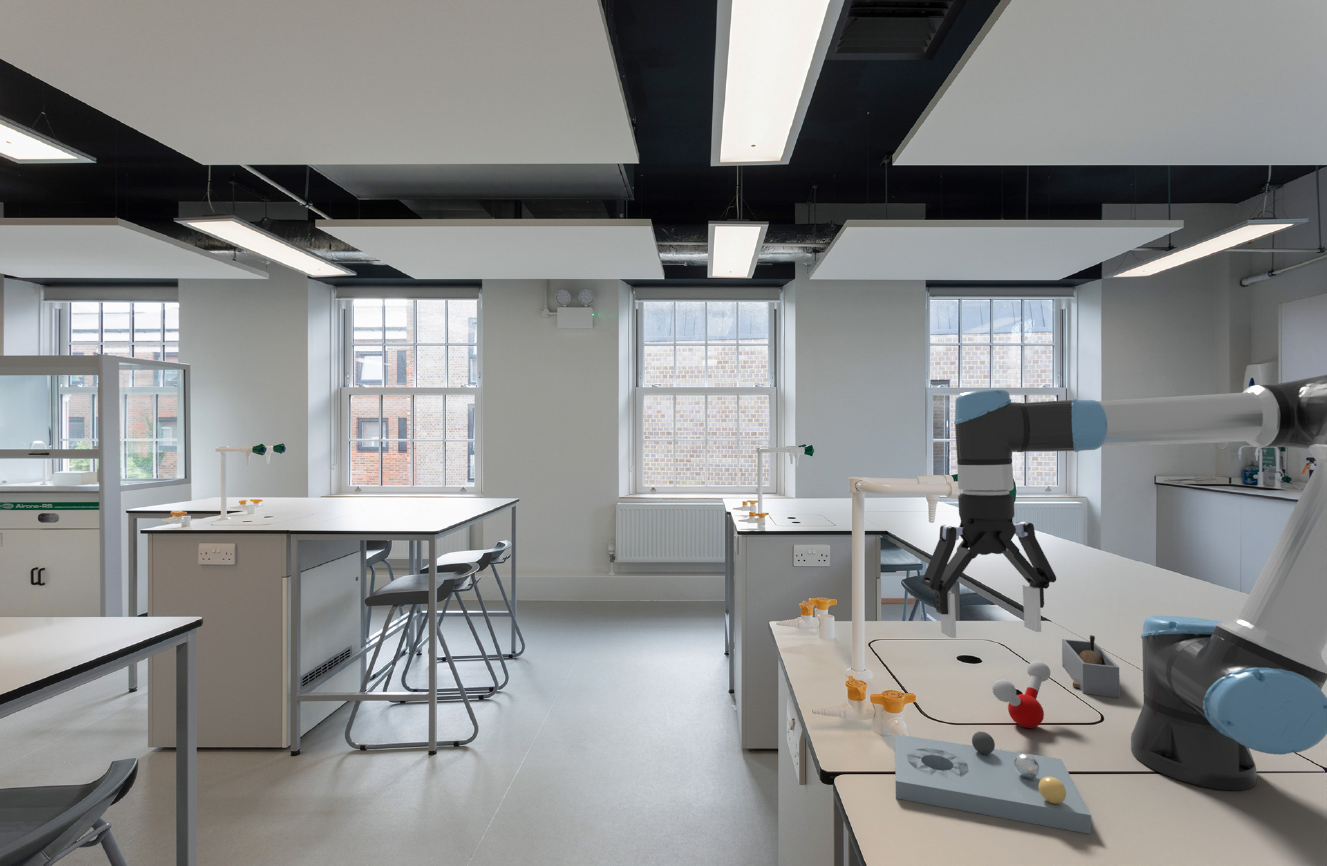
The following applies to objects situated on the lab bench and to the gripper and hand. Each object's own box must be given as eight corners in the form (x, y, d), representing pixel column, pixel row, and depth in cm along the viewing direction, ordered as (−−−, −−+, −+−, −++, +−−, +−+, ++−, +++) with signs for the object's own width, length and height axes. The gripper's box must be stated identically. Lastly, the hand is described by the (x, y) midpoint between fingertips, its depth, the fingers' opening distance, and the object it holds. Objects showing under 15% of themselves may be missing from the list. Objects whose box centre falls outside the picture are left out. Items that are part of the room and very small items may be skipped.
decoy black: (993, 749, 98) (993, 729, 98) (996, 759, 95) (996, 738, 95) (970, 746, 99) (970, 726, 99) (973, 756, 96) (973, 735, 96)
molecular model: (1022, 706, 119) (1022, 654, 119) (1057, 716, 115) (1057, 662, 115) (989, 736, 107) (989, 679, 107) (1027, 749, 103) (1026, 689, 103)
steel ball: (1037, 773, 91) (1036, 751, 91) (1041, 784, 88) (1041, 762, 88) (1012, 769, 92) (1012, 747, 92) (1016, 780, 89) (1016, 758, 89)
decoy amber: (1063, 797, 85) (1062, 774, 85) (1069, 810, 82) (1068, 786, 82) (1036, 793, 86) (1036, 770, 86) (1041, 806, 83) (1041, 782, 83)
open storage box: (1094, 668, 138) (1094, 642, 138) (1119, 697, 123) (1119, 667, 123) (1062, 665, 140) (1062, 639, 140) (1083, 693, 125) (1082, 663, 125)
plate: (1061, 775, 95) (1061, 758, 95) (1091, 834, 81) (1090, 815, 81) (895, 748, 103) (895, 733, 103) (895, 798, 89) (895, 780, 89)
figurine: (1080, 667, 138) (1081, 628, 138) (1105, 672, 136) (1106, 633, 135) (1072, 686, 128) (1073, 645, 127) (1098, 693, 125) (1100, 650, 125)
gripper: (1043, 487, 99) (1049, 619, 98) (895, 493, 96) (900, 630, 96) (1080, 490, 91) (1086, 634, 91) (920, 497, 89) (926, 645, 88)
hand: (991, 632), depth 93 cm, fingers open, 13 cm apart
